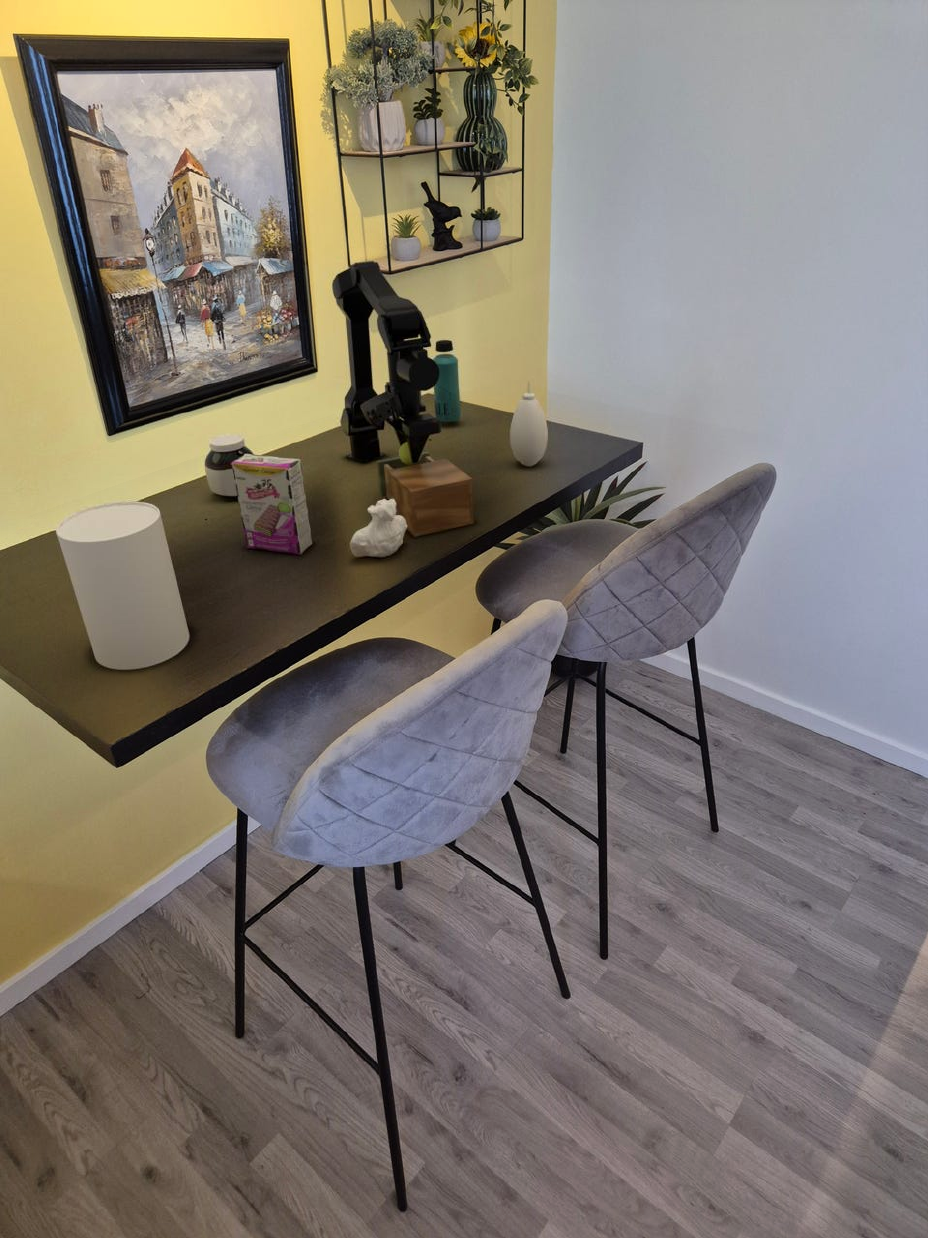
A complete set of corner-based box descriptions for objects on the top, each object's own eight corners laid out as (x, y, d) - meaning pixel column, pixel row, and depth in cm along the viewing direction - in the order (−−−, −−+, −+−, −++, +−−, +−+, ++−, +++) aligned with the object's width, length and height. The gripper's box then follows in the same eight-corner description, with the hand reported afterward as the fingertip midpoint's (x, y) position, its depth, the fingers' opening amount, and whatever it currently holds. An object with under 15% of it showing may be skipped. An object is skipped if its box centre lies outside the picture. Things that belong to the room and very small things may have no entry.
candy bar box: (245, 549, 155) (229, 462, 147) (260, 537, 159) (244, 452, 151) (301, 556, 152) (287, 467, 144) (314, 544, 156) (301, 457, 148)
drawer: (378, 493, 173) (374, 458, 170) (427, 483, 177) (425, 449, 173) (399, 514, 164) (396, 478, 160) (450, 503, 167) (449, 467, 164)
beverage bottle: (462, 419, 215) (459, 337, 205) (460, 428, 209) (456, 343, 199) (436, 419, 216) (432, 337, 205) (433, 428, 210) (428, 344, 200)
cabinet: (391, 514, 166) (387, 470, 162) (448, 501, 170) (446, 458, 166) (414, 537, 157) (410, 491, 152) (473, 523, 161) (472, 478, 156)
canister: (131, 616, 136) (98, 498, 126) (206, 626, 132) (179, 505, 122) (74, 663, 125) (33, 537, 115) (155, 675, 121) (120, 546, 111)
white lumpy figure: (358, 576, 149) (378, 540, 140) (333, 542, 151) (352, 504, 142) (409, 552, 156) (432, 517, 147) (386, 520, 158) (407, 483, 149)
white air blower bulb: (553, 461, 187) (554, 378, 178) (536, 473, 181) (536, 388, 172) (522, 456, 191) (521, 374, 181) (504, 467, 185) (502, 383, 176)
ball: (394, 464, 167) (393, 442, 165) (411, 458, 169) (410, 436, 167) (410, 469, 164) (408, 447, 162) (427, 463, 167) (425, 441, 164)
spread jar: (223, 506, 173) (212, 450, 167) (197, 491, 181) (186, 437, 175) (275, 489, 180) (266, 435, 174) (248, 475, 187) (239, 423, 181)
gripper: (347, 372, 163) (355, 452, 171) (380, 396, 148) (388, 482, 156) (402, 364, 167) (408, 442, 175) (439, 387, 152) (444, 471, 160)
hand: (410, 458), depth 166 cm, fingers closed on ball, 4 cm apart
